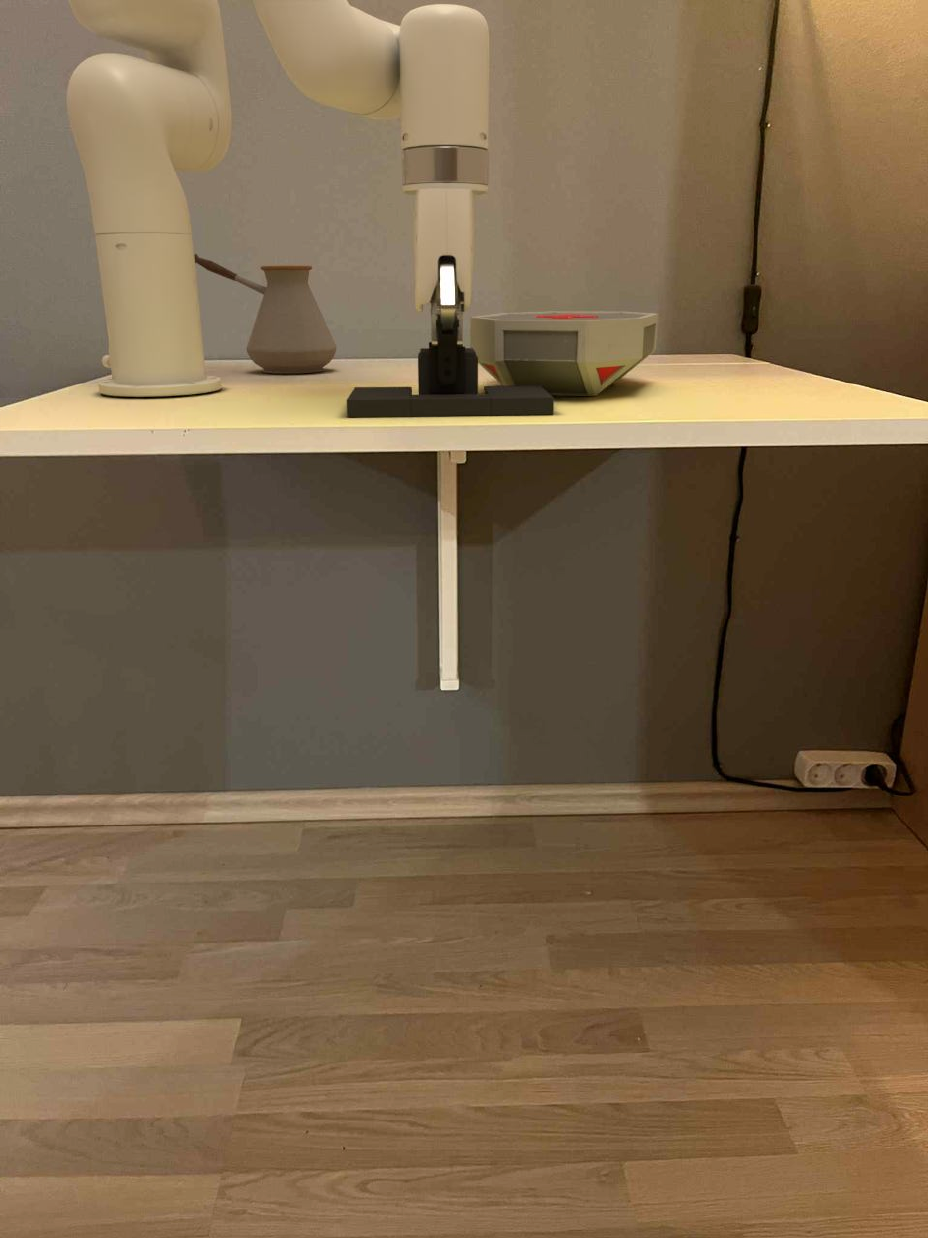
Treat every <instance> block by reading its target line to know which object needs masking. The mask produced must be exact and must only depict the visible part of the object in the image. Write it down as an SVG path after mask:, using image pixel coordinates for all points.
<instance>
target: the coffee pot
mask: <svg viewBox="0 0 928 1238" xmlns="http://www.w3.org/2000/svg"><path fill="white" fill-rule="evenodd" d="M194 257H195V264H197V265H199V266H201V267H202V268H204V269H205V270H207V271H208V272H211V273H213V274H215V275H219V276H221V277H223V278H226V279H229V280H231V281H234V282H237V283H239V284H241V285H244V286H245V287H246V288H248V289H251V290H253V291H256V292H258V293H259V294H261V295H263V296H262V298H261V302H260V305H259V309H258V312H257V314H256V318H255V321H254V324H253V327H252V331H251V333H250V337H249V340H248V343H247V346H246V352H247V355H248V357H249V358H250V360H251V361H252V362H253V363H254V364H255V365H257V366H258V367H260V368H262V369H263V371H262V373H267V374H286V375H287V374H288V375H289V374H290V375H291V374H311V373H319V372H323V371H324V367H326V366H327V365H328V364H330V363H331V361H332V360H333V359H334V358H335V356H336V353H337V348H338V347H337V344H336V341H335V340H334V338H333V335H332V333H331V331H330V329H329V327H328V324H327V322H326V320H325V317H324V316H323V313H322V311H321V309H320V306H319V305H318V303H317V300H316V298H315V296H314V294H313V291H312V290H311V287H310V285H309V276H310V271H311V270H313V266H312V265H261V266H260V270H261V271H263V273H264V277H265V279H266V286H264V285H261V284H259V283H256V282H255V281H252V280H250V279H247V278H245V277H243V276H240V275H238V274H237V273H236V272H233V271H231V270H230V269H228V268H226V267H224V266H222V265H221V264H218V263H216V262H214V261H212V260H209V259H206V258H202V257H199V256H198V254H197V253H194Z"/></svg>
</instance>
